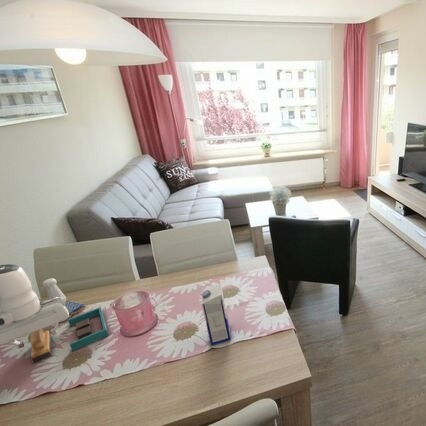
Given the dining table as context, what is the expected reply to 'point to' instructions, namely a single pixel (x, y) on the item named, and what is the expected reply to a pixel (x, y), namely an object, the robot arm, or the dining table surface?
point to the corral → (93, 336)
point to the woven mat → (73, 307)
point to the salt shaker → (53, 289)
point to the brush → (40, 345)
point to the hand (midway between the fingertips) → (38, 340)
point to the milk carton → (215, 315)
